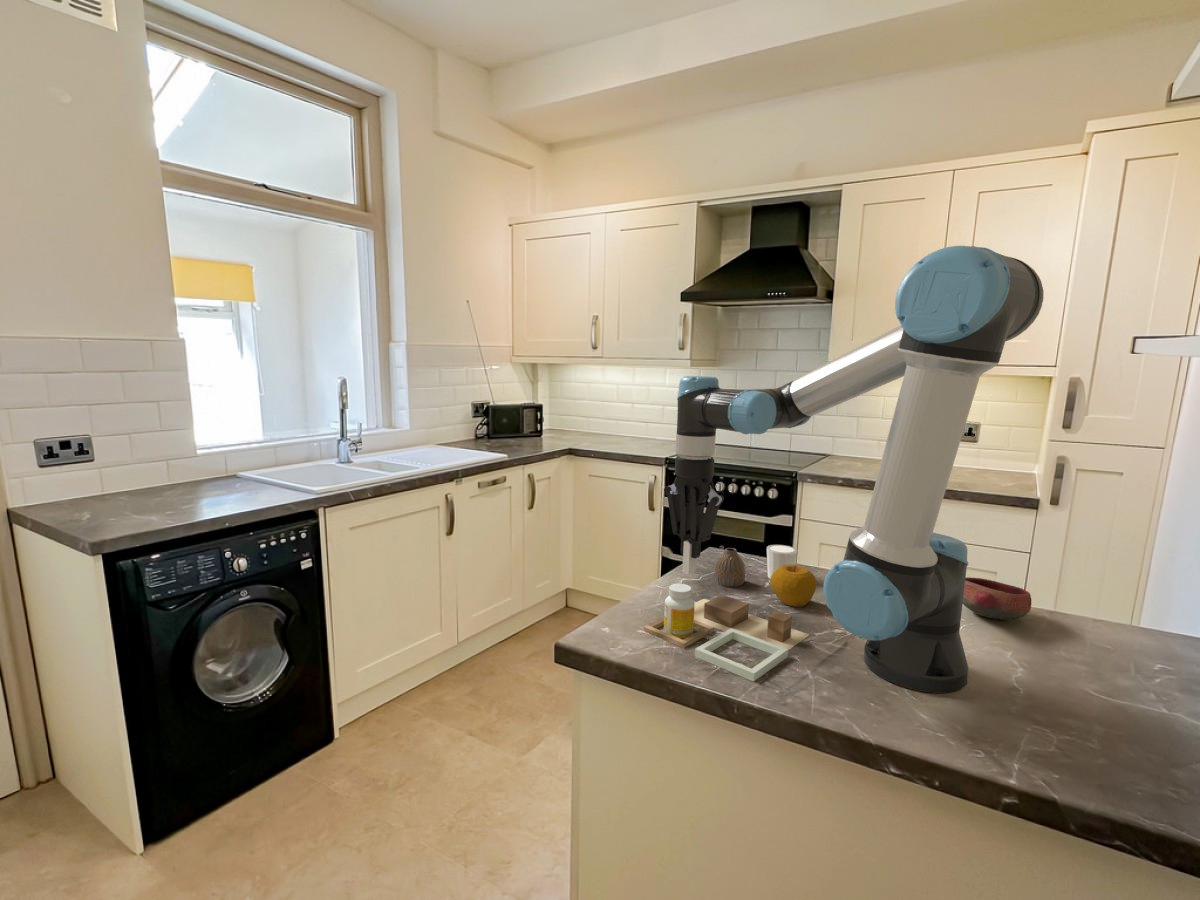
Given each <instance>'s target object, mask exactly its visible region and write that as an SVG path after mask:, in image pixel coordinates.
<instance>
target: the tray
mask: <svg viewBox="0 0 1200 900" xmlns="http://www.w3.org/2000/svg"><path fill="white" fill-rule="evenodd" d="M732 640H734V641H737V642H739V643H742V644H745V645H748V646H750V647H752V648H755V649H757V650H760V651H763V652H764V653H768V654H770V655H769V656H768V657H767V658H764V660H762V661H761V662H759V663H758V664H756V665H755V666H753V667H752V668H750V667H748V666H745V665H743V664H741V663H738V662H736V661H735V660H731V659H730V658H726V657H724V656H722V655H719V654H717V653H714V652H713V651H714V650H717V649H718V648H719V647H721V646H723V645H725V644H727V643H728V642H730V641H732ZM694 657H695V658H697V659H700V660H702V661H704V662H706V663H709V664H712V665H713V666H716V667H719V668H720V669H723V670H726V671H728V672H730V673H732V674H734V675H738V676H740V677H742V678H744V679H745V680H749V681H751V682H755V681H756V680H759V678H761V677H762V676H764V675H765V674H766V673H768V672H769V671H771V670H772V669H773V668H775V667H776V666H777V665H779V664H780V663H781V662H783V661H784V660H786V659H787V658H788V657H789V650H788V649H786V648H783V647H780V646H777V645H775V644H772V643H769V642H767V641H764V640H761V639H759V638H756V637H753V636H750V635H748V634H745V633H742V632H740V631H737V630H734V629H732V628H731V629H729V630H727V631H725V632H724V631H723V632H722V633H720V634H718V635H717V636H715V637H713V638H711V639H709V640H708V641H706V642H705V643H702V644H701V645H700V646H697V647H696V648H694Z"/></svg>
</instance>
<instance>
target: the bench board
mask: <svg viewBox="0 0 1200 900" xmlns="http://www.w3.org/2000/svg"><path fill="white" fill-rule="evenodd" d="M708 601H710V599H707V598H702V599H700V600H698V601H696V602H694V603H695V607H694V620H696V621H698V622H701V623H704V624H706V625H709V626H712V627H714V629H716V630H719V631H722V632H723V633H724V632H725V631H727V630H729V629H731V628H729V627H727V626H724V625H721V624H719V623H716V622H713V621H710V620H708V619H705V618H704V604H705V603H706V602H708ZM792 621H793V616H792V615H789V614H787V613H783V612H781V611H774V612H772V613H771V614H769V615H768V616H767V619H765V618H762V617H759V616H757V615H754V614H750V613H748V619H746V620H744V621H743V622H741V623H739V624H737V625H736V626H734V627H732V629H734V630H737V631H740V632H742V633H745V634H748V635H750V636H753V637H756V638H759V639H761V640H764V641H767V642H769V643H772V644H775V645H777V646H780V647H783V648H786V649H788V651H790V650H791V649H793V648H794V647H795V646H797V645H798V644H799V643H801V642H803V641H804V640H805V639H807V638H808V637H809V636H811V634H808V633H806V632H803V631H802V630H797V629H794V628H792Z"/></svg>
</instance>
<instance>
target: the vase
mask: <svg viewBox="0 0 1200 900" xmlns="http://www.w3.org/2000/svg"><path fill="white" fill-rule="evenodd" d="M746 569H747V568H746V564H745V562H744V561H743V559H742V558H741V556H740V554H739V553H738V551H737V549H736V548H733V547H727V548H725V549H724V552H723V553H722V554H721V555H720V556H719V557H718V558H717V560H716V562H715V564H714V568H713V574H714V579H715V582H716V584H718V585H720V586H723V587H727V588H737V587H741V586H742V585H744V582H745V579H746V574H747V571H746Z"/></svg>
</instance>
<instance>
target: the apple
mask: <svg viewBox="0 0 1200 900" xmlns="http://www.w3.org/2000/svg"><path fill="white" fill-rule="evenodd" d="M769 584H770V588H771V589H772V591H773V593H774V595H775V596H776V597H777V599H779V602H781V603H783V604H784V605H786V606H789V607H796V608H799V607H804V606H806V605H807V604H808V603H809V602H810V601H811V600H812V599H813V596H814V595H815V593H816V589H817V579H816V576H815V575H814V574H813V573H812V571H810V569H807V568H806V567H803V566H801V565H796V564H795V565H783V566H781V567H779V568H778V569H777V570H776V571H775V572H774V573H773V574H772V575H771V578H769Z"/></svg>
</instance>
